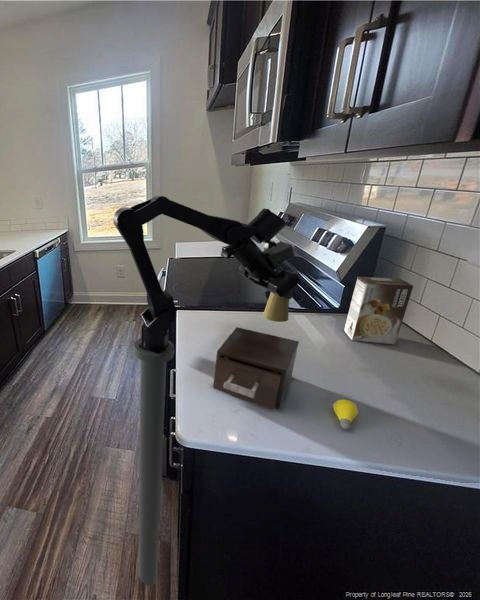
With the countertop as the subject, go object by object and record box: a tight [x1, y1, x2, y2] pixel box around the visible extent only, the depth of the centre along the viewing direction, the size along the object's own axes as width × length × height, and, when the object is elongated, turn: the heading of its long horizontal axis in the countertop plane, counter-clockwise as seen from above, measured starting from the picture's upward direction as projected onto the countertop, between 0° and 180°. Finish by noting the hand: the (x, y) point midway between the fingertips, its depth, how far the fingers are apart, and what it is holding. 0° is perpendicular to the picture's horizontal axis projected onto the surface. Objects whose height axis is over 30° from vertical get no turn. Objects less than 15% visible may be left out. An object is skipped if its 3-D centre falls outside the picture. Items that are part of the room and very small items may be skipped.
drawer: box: [213, 356, 282, 411], centre depth 66 cm, size 17×11×7 cm
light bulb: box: [332, 398, 359, 430], centre depth 58 cm, size 3×6×4 cm, turn 145°
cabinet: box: [212, 326, 300, 411], centre depth 69 cm, size 14×13×9 cm
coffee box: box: [343, 276, 414, 345], centre depth 82 cm, size 9×6×16 cm
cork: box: [262, 292, 290, 323], centre depth 85 cm, size 6×6×11 cm
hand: (284, 294), depth 85 cm, fingers closed on cork, 5 cm apart
